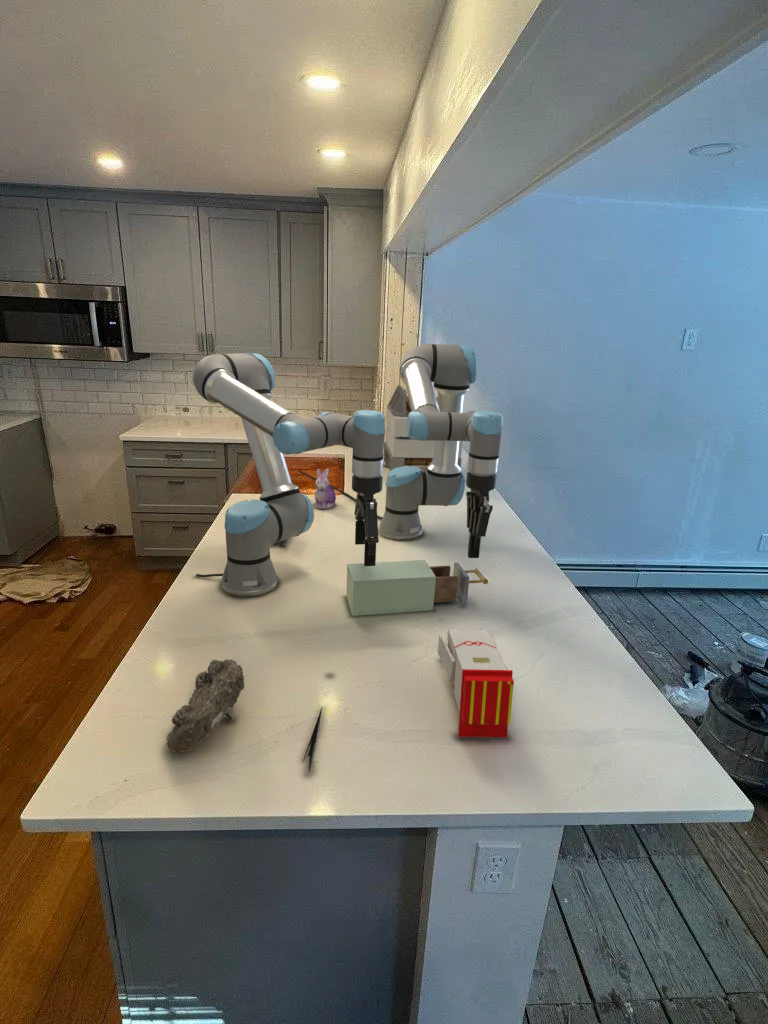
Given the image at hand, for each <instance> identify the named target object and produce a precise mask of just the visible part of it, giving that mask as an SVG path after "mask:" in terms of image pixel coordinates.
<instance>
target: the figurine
mask: <svg viewBox="0 0 768 1024" xmlns="http://www.w3.org/2000/svg"><path fill="white" fill-rule="evenodd" d="M329 471H330V469H329V468H328V467H327V468H325V469H324V471H322V470H321V469H320V468H318V469H317V470H316V476H317V477H316V479H317V480H315V481H314V486H315V488H316V490H315V492H314V500H315V503H314V507H315V508H316V509H320V510H324V509H330V508H333V507H335V505H336V499H337V497H336V496H337V495H336V490H335V489H333V488H332V487H330V486H329V485H330V481H329V478H328V476H329Z"/></svg>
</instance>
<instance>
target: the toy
mask: <svg viewBox="0 0 768 1024" xmlns="http://www.w3.org/2000/svg"><path fill="white" fill-rule="evenodd" d="M446 640H447V643H446V641H445V639H444V636H443V635H442V634H439V637H438V646H437V656H438V657H439V659H440V661H441V663H442V666H443V668H444V670H445V672H446V674H447V677H448V679H449V681H450V684H451V687H452V690H453V693H454V697H455V701H456V705H457V708H458V711H459V714H458V715H459V716H458V730H457V731H458V732H457V737H458V738H508V731H509V726H510V725H511V717H512V707H513V697H514V696H513V695H514V684H515V680H514V679H513V673H514V671H513V670H512V669H508V667H507V665H506V662H505V661H504V659H503V658H502V655H501V653H500V651H499V649H498V647H497V643H496V639H495V637H494V635H493V634H491V632H490V631H489V629H467V628H466V629H465V628H463V629H461V628H460V629H459V628H448V630H447V639H446Z"/></svg>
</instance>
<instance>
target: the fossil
mask: <svg viewBox="0 0 768 1024" xmlns="http://www.w3.org/2000/svg"><path fill="white" fill-rule="evenodd" d="M243 670H244V669H243V667H242V665H240V664H237V662H236V661H235V660H234V659H232V658H231V659H227V658H226V659H224V660H223V661H222V660H217V659H212V660H211V661H210V663H209V665H208V666H207V671H201V672H199V673H198V674H197V675H196V676H195V680H194V684H195V685H194V687H195V689H194V690H193V693H192V694H191V697H190V698H189V700H188V704H184V705H182V706H181V707H180V709H177V710H176V711H175V713H174V715H173V716H172V718H171V723H172V724H173V727H172V730H171V731H170V732H168V734H167V738H166V741H167V742H166V745H167V749H168V750H169V751H173V752H174V753H176V754H178V753H182V752H188V751H189V752H192V751H193V750H195V748H196V747H197V746H199V744H200V743H201V742H203V741H204V740H205V739H206V738H207V737H208V736H209V735H210V734H211V733H212V732H214V730H215V729H217V727H218V726H219V724H220V722H221V721H222V720H223V719H224V718H225V716H226V717H227V719H229V720H233V717H232V715H230V714H229V710H230V709H231V708H234V706H235V704H236V703H237V702H238V699H239V697H240V695H241V693H242V691H243V690H245V689H244V688H245V675H244V671H243Z"/></svg>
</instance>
